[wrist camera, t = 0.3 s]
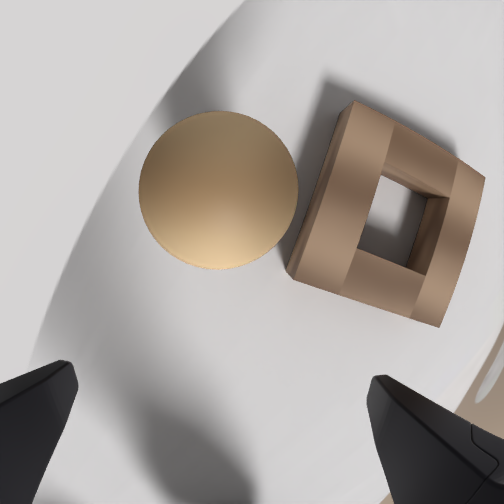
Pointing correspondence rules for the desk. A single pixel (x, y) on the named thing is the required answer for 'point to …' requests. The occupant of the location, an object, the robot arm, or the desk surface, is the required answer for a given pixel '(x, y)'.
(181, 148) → the tan tall cylinder
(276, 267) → the desk surface
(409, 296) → the walnut square frame
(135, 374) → the desk surface
